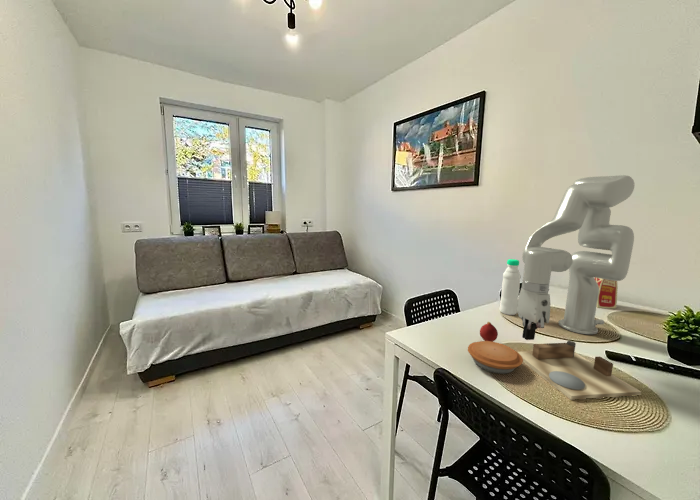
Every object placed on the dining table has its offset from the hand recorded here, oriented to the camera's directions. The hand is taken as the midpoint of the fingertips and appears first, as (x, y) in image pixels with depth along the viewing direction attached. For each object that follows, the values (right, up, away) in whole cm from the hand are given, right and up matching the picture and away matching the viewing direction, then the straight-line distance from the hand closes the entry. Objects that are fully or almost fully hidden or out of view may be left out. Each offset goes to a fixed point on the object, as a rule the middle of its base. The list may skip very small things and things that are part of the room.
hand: (528, 338), depth 98 cm
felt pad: (-1, -6, -18) cm, 19 cm away
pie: (-16, -6, -7) cm, 18 cm away
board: (+5, -6, -12) cm, 15 cm away
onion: (-11, -4, +6) cm, 13 cm away
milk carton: (+65, +2, +46) cm, 80 cm away
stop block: (+13, -6, -14) cm, 20 cm away
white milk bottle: (+12, +1, +35) cm, 37 cm away
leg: (+5, -4, -6) cm, 8 cm away
